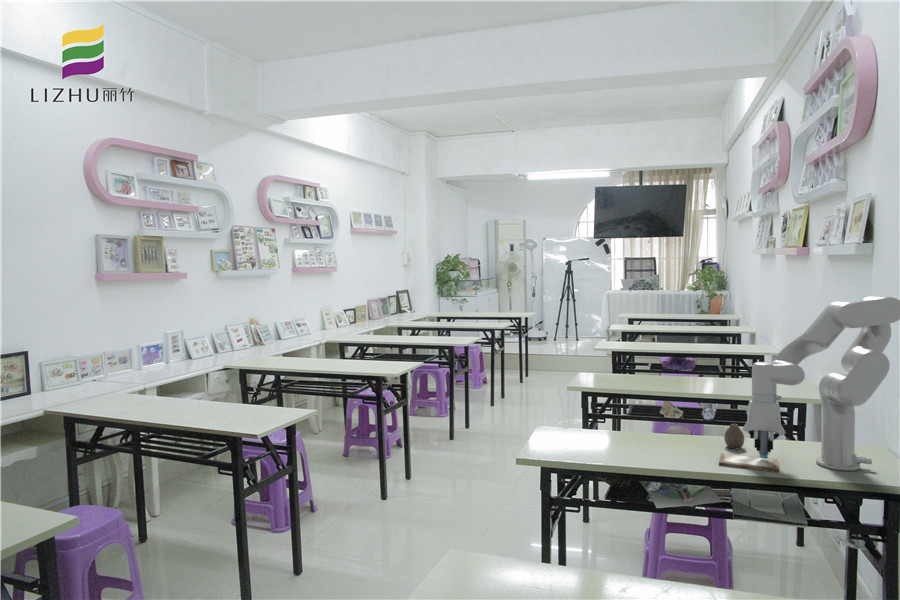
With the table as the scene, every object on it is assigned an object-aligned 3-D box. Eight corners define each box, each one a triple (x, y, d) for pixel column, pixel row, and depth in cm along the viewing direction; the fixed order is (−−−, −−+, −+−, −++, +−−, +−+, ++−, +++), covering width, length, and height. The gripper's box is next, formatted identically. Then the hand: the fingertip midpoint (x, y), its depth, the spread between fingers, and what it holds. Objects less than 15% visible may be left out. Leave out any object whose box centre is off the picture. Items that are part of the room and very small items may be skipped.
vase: (740, 445, 224) (740, 422, 223) (747, 450, 217) (747, 426, 217) (721, 444, 224) (721, 422, 224) (728, 449, 218) (728, 426, 217)
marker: (768, 457, 202) (768, 422, 201) (768, 459, 199) (768, 424, 199) (758, 456, 203) (758, 422, 203) (758, 458, 200) (758, 423, 200)
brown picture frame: (777, 462, 202) (777, 459, 202) (778, 472, 191) (778, 468, 191) (720, 455, 210) (720, 452, 210) (718, 465, 200) (718, 461, 199)
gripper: (790, 398, 200) (790, 450, 200) (737, 394, 208) (737, 445, 208) (791, 402, 193) (791, 456, 194) (737, 398, 201) (737, 450, 201)
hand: (763, 450), depth 201 cm, fingers closed on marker, 3 cm apart
